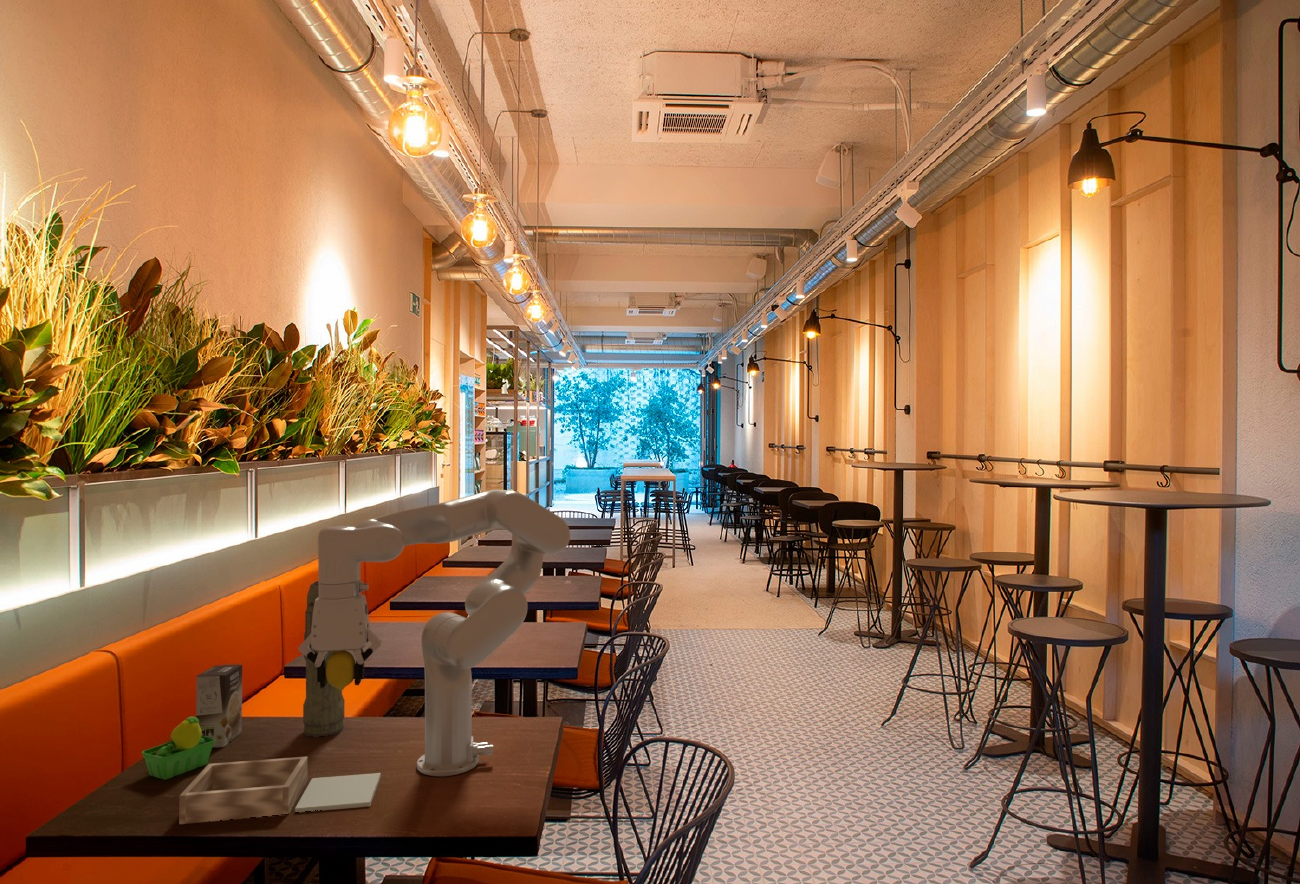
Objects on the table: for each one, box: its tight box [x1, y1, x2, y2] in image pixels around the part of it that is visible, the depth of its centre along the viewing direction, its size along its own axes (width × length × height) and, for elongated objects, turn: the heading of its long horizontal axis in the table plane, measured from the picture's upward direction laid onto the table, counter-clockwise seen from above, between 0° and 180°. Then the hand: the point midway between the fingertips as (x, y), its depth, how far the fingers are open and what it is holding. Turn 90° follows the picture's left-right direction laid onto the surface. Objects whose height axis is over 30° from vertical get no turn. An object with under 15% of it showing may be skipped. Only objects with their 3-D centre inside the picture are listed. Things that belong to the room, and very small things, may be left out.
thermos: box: [302, 580, 346, 738], centre depth 180 cm, size 9×12×35 cm
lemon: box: [325, 650, 356, 691], centre depth 147 cm, size 6×6×8 cm
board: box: [294, 772, 382, 813], centre depth 146 cm, size 13×13×1 cm
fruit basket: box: [141, 716, 215, 781], centre depth 157 cm, size 11×9×11 cm
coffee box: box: [195, 664, 243, 748], centre depth 174 cm, size 9×6×16 cm
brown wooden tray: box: [178, 756, 309, 825], centre depth 143 cm, size 18×14×5 cm
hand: (341, 683), depth 147 cm, fingers closed on lemon, 5 cm apart
